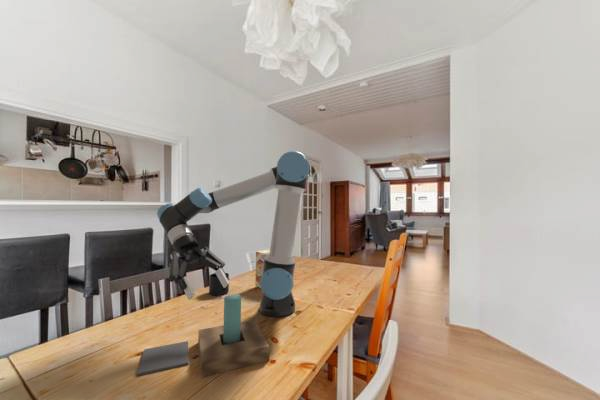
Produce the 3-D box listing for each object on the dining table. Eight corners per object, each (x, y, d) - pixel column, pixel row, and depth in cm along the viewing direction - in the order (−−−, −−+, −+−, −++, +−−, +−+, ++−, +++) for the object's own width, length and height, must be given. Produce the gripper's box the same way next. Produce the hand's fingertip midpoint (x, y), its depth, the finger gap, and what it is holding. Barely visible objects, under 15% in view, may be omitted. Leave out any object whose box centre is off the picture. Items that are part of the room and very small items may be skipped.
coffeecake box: (254, 287, 137) (255, 251, 137) (264, 284, 142) (265, 249, 143) (274, 293, 127) (274, 254, 128) (283, 290, 133) (284, 253, 133)
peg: (238, 345, 79) (239, 293, 80) (241, 353, 75) (242, 299, 75) (222, 348, 77) (223, 295, 78) (224, 357, 72) (225, 301, 73)
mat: (188, 342, 80) (188, 341, 80) (188, 364, 69) (188, 362, 69) (144, 351, 75) (144, 349, 75) (136, 376, 64) (136, 373, 64)
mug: (217, 298, 119) (217, 279, 119) (205, 292, 127) (206, 274, 127) (234, 294, 125) (235, 276, 126) (222, 288, 134) (223, 271, 134)
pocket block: (253, 331, 88) (253, 320, 88) (269, 360, 71) (269, 346, 71) (198, 342, 80) (198, 329, 80) (201, 377, 64) (201, 361, 64)
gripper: (207, 243, 101) (233, 287, 93) (141, 252, 79) (168, 310, 71) (216, 230, 98) (244, 275, 90) (151, 236, 77) (180, 295, 69)
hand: (210, 291), depth 81 cm, fingers open, 13 cm apart
